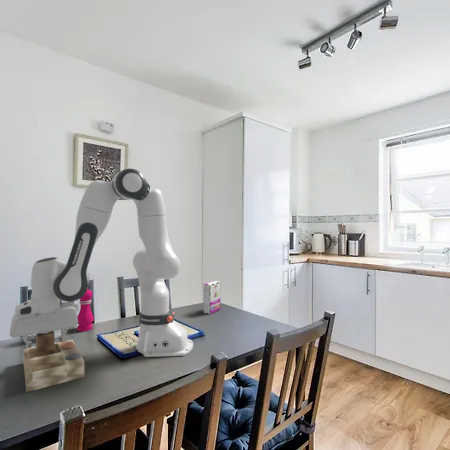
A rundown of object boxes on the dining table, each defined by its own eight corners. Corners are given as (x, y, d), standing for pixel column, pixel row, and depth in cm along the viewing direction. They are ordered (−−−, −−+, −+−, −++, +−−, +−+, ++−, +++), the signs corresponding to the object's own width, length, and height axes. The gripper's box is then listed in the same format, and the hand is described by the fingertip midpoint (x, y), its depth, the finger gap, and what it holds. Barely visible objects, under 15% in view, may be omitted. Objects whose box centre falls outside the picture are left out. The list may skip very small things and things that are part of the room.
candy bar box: (213, 308, 177) (213, 280, 177) (220, 309, 174) (221, 281, 174) (202, 313, 167) (203, 283, 167) (210, 314, 165) (210, 284, 165)
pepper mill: (86, 332, 135) (87, 288, 135) (72, 331, 136) (73, 287, 136) (96, 327, 142) (97, 285, 142) (83, 325, 143) (83, 284, 143)
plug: (52, 357, 107) (52, 326, 107) (54, 362, 103) (54, 331, 103) (36, 361, 104) (36, 329, 104) (37, 366, 100) (37, 333, 100)
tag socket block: (72, 352, 114) (72, 338, 114) (84, 377, 96) (84, 360, 96) (23, 363, 105) (23, 348, 105) (26, 392, 87) (26, 374, 87)
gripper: (77, 298, 112) (76, 335, 112) (10, 306, 100) (9, 347, 100) (80, 302, 107) (79, 340, 107) (10, 311, 95) (9, 354, 95)
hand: (45, 344), depth 104 cm, fingers open, 8 cm apart
